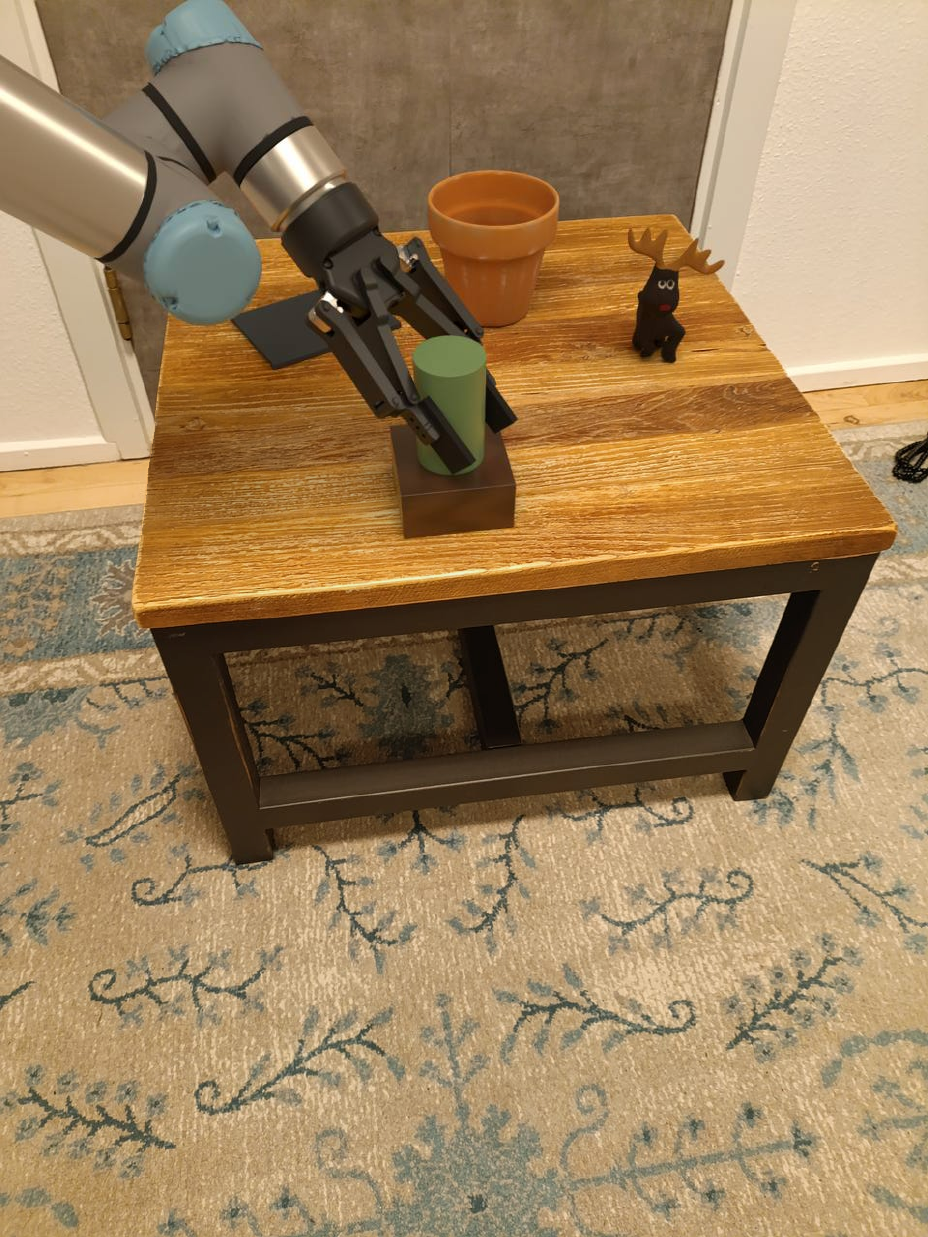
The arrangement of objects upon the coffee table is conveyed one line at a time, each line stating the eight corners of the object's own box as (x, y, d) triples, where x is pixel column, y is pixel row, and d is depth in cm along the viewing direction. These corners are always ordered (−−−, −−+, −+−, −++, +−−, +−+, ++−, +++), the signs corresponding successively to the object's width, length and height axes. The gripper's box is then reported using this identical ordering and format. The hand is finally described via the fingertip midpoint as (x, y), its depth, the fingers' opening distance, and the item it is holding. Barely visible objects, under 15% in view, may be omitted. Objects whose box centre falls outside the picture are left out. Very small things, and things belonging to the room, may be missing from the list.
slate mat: (274, 370, 97) (273, 365, 97) (230, 320, 104) (229, 316, 103) (401, 327, 103) (401, 322, 102) (352, 283, 109) (352, 278, 109)
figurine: (612, 371, 97) (631, 236, 86) (604, 336, 102) (622, 203, 90) (709, 371, 97) (741, 236, 86) (697, 335, 102) (726, 202, 90)
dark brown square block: (404, 538, 80) (401, 496, 76) (392, 468, 86) (389, 425, 82) (514, 527, 81) (516, 484, 77) (494, 457, 87) (495, 415, 83)
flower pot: (430, 278, 110) (427, 169, 100) (545, 277, 110) (553, 168, 101) (430, 341, 101) (427, 227, 91) (555, 339, 101) (565, 226, 91)
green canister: (439, 484, 77) (437, 384, 69) (404, 447, 80) (398, 348, 73) (497, 460, 79) (501, 361, 72) (460, 425, 82) (460, 327, 75)
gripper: (363, 190, 78) (514, 407, 85) (210, 281, 68) (397, 521, 74) (409, 139, 72) (569, 376, 79) (251, 230, 62) (449, 495, 68)
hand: (485, 446), depth 77 cm, fingers closed on green canister, 6 cm apart
